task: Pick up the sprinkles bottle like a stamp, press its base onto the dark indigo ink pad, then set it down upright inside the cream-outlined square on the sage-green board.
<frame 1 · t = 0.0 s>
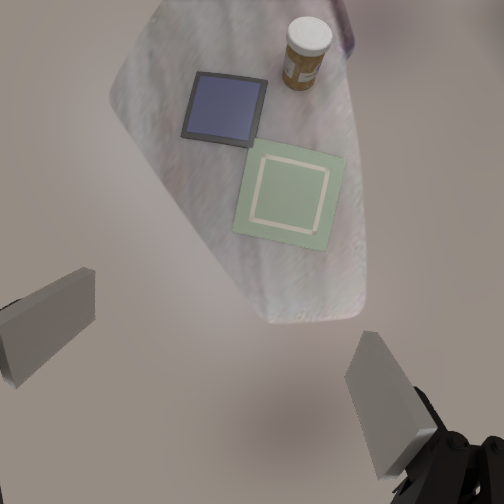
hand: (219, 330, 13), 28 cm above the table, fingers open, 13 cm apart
sprinkles bottle: (298, 77, 35), on the table
ink pad: (224, 108, 36), on the table
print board: (289, 194, 39), on the table
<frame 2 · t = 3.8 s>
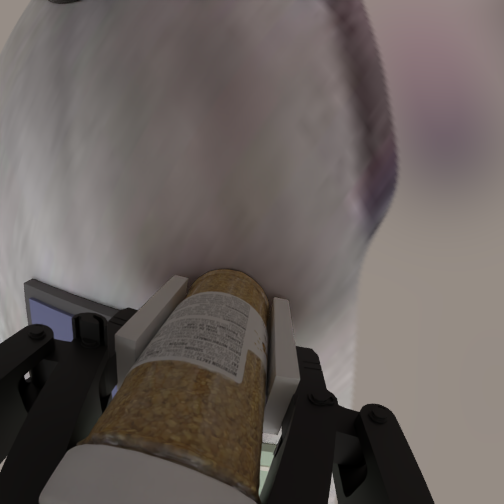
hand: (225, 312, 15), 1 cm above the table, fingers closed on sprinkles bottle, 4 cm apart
sprinkles bottle: (227, 305, 16), on the table, touching gripper
ink pad: (88, 361, 17), on the table
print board: (219, 478, 19), on the table
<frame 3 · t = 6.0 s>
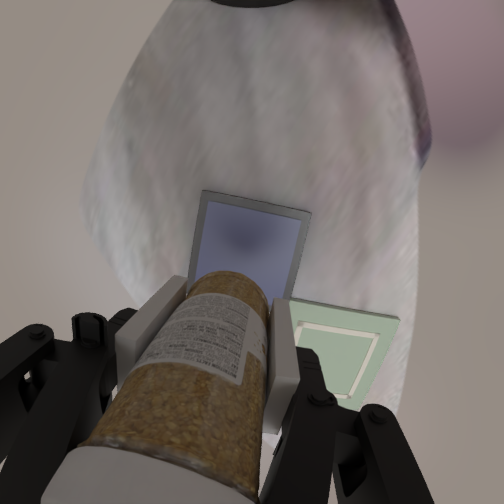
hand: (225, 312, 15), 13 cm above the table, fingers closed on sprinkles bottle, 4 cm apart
sprinkles bottle: (227, 306, 16), point 13 cm above the table, touching gripper
ink pad: (246, 252, 28), on the table
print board: (326, 360, 30), on the table
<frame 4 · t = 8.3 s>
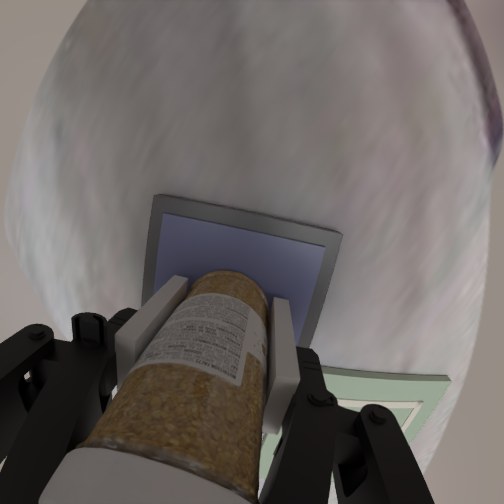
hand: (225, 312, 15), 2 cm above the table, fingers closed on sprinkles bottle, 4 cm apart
sprinkles bottle: (227, 306, 16), point 1 cm above the table, touching gripper, ink pad
ink pad: (230, 297, 17), on the table
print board: (347, 434, 19), on the table
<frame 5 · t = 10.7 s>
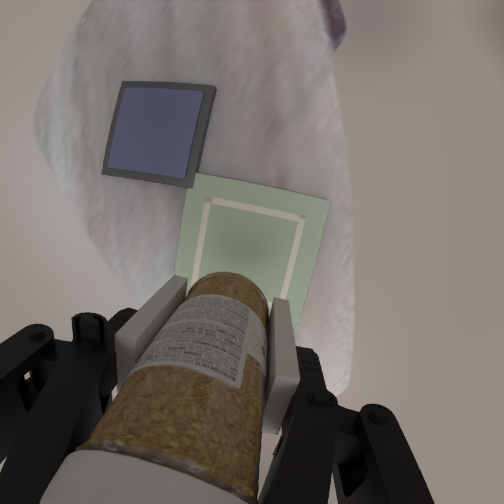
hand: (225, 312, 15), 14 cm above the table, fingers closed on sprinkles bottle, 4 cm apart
sprinkles bottle: (227, 307, 16), point 13 cm above the table, touching gripper
ink pad: (157, 131, 26), on the table
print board: (246, 252, 28), on the table
when the fingers open (3 cm above the table, at t = 12.8 s): sprinkles bottle drops 1 cm, resting on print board.
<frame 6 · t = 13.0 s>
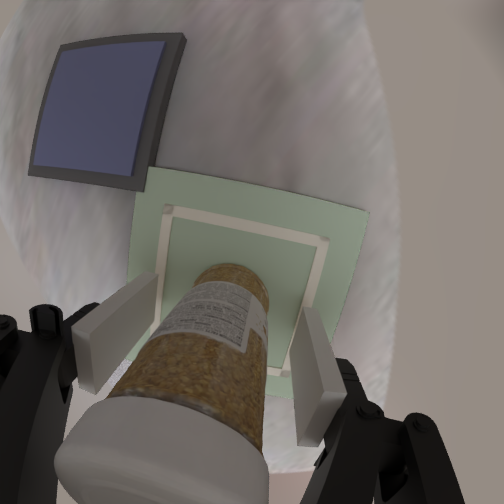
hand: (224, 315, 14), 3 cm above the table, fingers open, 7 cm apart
sprinkles bottle: (230, 298, 17), point 1 cm above the table, touching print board
ink pad: (98, 107, 15), on the table
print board: (232, 293, 17), on the table
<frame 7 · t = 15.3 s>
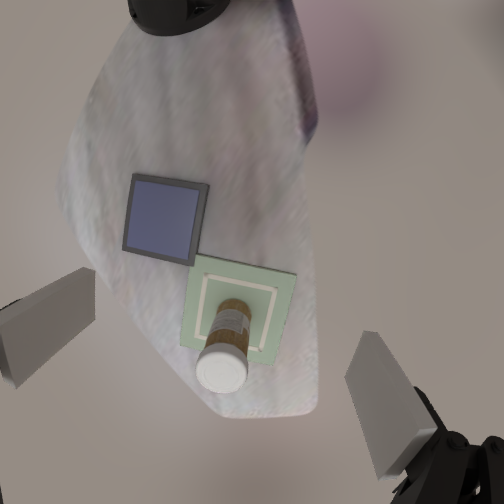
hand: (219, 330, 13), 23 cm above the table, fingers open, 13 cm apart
sprinkles bottle: (234, 313, 36), point 1 cm above the table, touching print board
ink pad: (164, 218, 35), on the table
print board: (234, 311, 37), on the table
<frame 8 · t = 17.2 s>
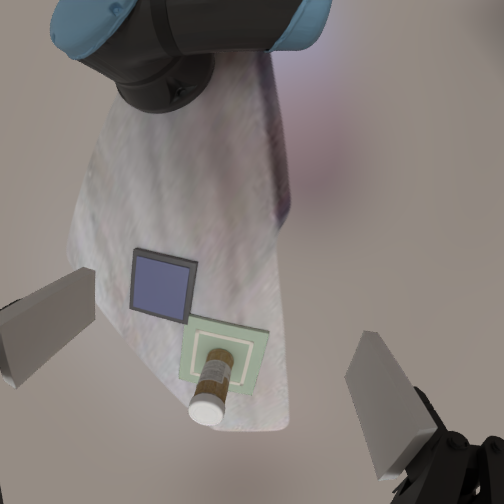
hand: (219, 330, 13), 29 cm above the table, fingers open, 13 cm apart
sprinkles bottle: (220, 358, 45), point 1 cm above the table, touching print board
ink pad: (162, 285, 43), on the table
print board: (221, 356, 45), on the table
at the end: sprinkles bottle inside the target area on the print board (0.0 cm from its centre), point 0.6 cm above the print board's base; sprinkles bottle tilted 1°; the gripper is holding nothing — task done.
